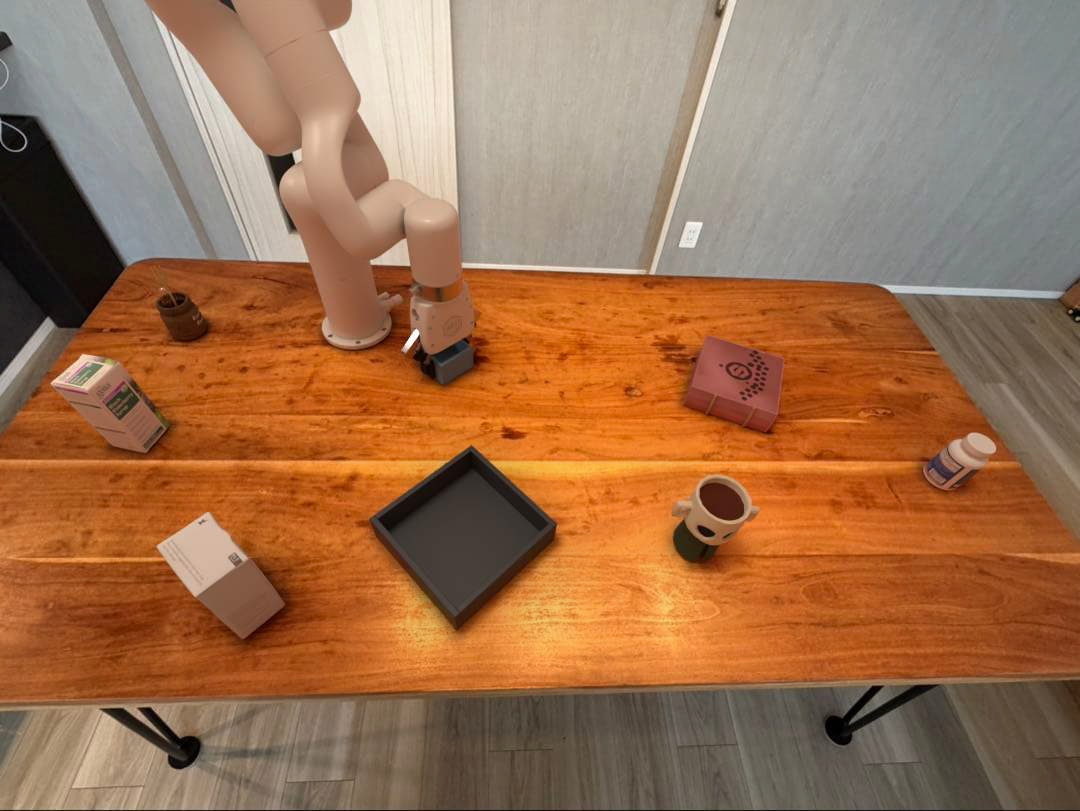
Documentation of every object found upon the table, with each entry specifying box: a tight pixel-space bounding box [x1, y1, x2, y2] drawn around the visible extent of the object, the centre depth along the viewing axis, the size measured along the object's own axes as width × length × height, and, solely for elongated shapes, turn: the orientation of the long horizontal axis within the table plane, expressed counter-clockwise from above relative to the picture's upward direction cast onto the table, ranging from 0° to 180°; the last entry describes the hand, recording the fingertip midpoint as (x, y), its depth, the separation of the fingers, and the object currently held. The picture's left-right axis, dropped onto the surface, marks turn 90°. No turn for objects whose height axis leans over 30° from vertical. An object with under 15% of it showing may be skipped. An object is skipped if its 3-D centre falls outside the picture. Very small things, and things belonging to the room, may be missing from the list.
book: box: [683, 334, 786, 433], centre depth 92 cm, size 14×15×5 cm
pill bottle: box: [922, 432, 997, 492], centre depth 81 cm, size 5×5×10 cm
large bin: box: [368, 444, 558, 631], centre depth 70 cm, size 18×18×5 cm
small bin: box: [415, 339, 475, 387], centre depth 91 cm, size 7×7×5 cm
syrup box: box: [50, 353, 171, 454], centre depth 74 cm, size 6×6×14 cm
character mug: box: [671, 473, 761, 564], centre depth 69 cm, size 11×7×13 cm, turn 88°
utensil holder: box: [149, 264, 208, 341], centre depth 90 cm, size 6×6×12 cm
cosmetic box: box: [156, 511, 286, 640], centre depth 59 cm, size 8×6×15 cm
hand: (446, 363), depth 93 cm, fingers closed on small bin, 7 cm apart
